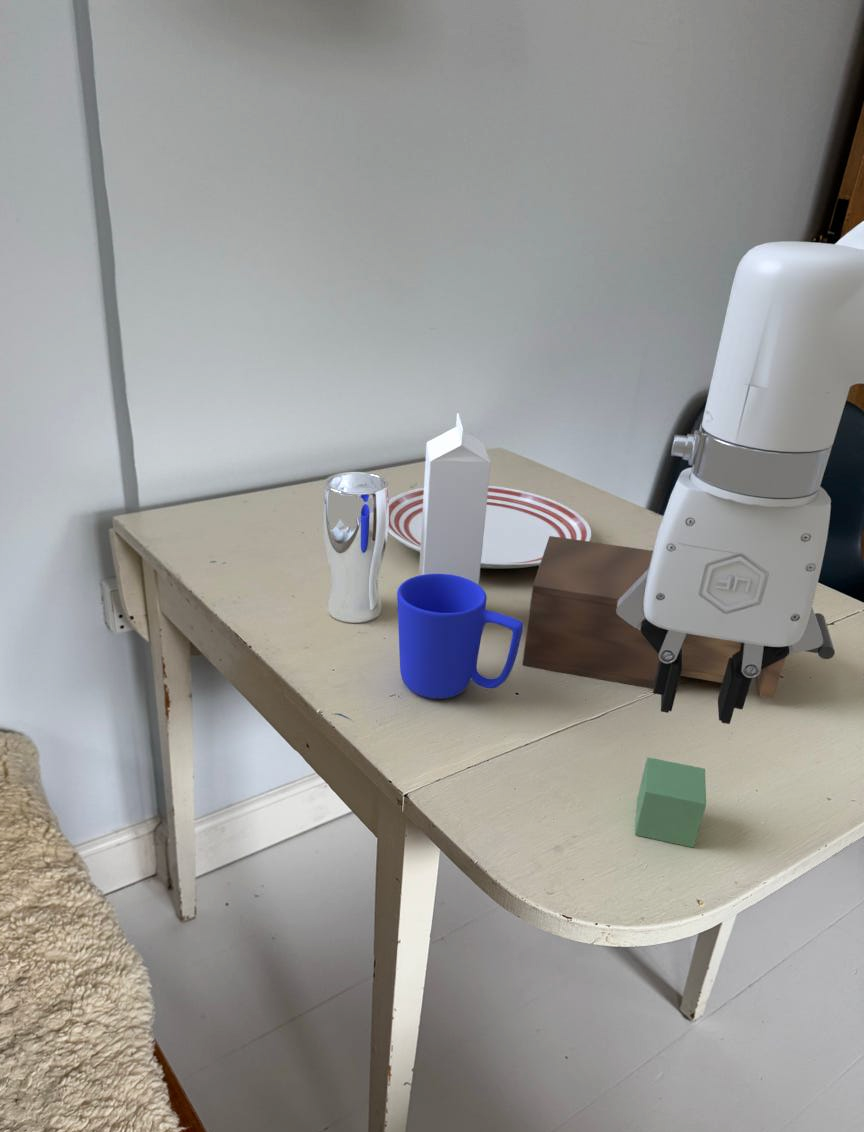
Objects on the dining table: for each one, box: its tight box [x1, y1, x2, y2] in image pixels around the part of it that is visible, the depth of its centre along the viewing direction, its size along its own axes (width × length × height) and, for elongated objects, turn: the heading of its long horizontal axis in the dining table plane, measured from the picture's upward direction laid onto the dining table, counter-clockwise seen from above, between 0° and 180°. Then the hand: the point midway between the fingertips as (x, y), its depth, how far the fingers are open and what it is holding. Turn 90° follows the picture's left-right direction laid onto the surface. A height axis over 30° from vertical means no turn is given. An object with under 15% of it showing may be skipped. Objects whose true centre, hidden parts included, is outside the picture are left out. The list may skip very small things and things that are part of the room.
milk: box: [418, 412, 491, 586], centre depth 91 cm, size 6×6×22 cm
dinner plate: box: [388, 485, 593, 570], centre depth 114 cm, size 27×27×3 cm
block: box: [634, 756, 707, 848], centre depth 67 cm, size 4×4×4 cm
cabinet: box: [522, 536, 682, 689], centre depth 89 cm, size 15×13×9 cm
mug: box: [396, 574, 524, 700], centre depth 81 cm, size 8×12×10 cm
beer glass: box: [322, 471, 390, 624], centre depth 93 cm, size 7×7×15 cm
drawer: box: [680, 612, 836, 699], centre depth 87 cm, size 18×11×7 cm, turn 73°
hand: (694, 705), depth 63 cm, fingers open, 3 cm apart
